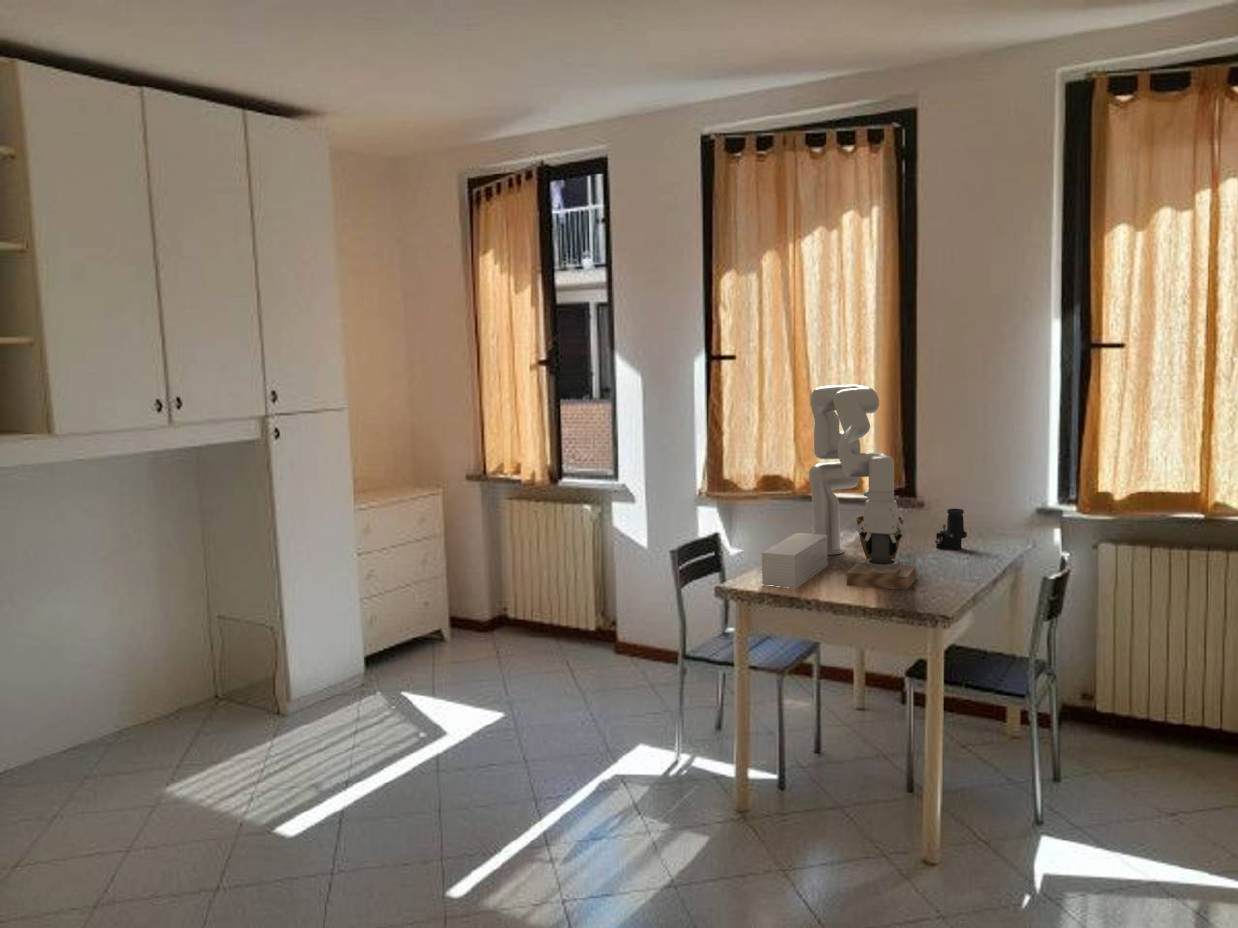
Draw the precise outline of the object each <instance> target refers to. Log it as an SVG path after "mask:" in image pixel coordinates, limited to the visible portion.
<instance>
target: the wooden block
mask: <svg viewBox="0 0 1238 928" xmlns="http://www.w3.org/2000/svg"><path fill="white" fill-rule="evenodd" d="M900 562H901V561H900V560H897V559H896V558H895V559H892V564H885V565H883V564H873V563H871V558H870V559H866V558H865V560H864V561H863V562H859V561H858V562H856V563H855V564H854V565H853V566H852V567H851V568H849V570H847V572H846V586H850V587H851V586H853V587H865V588H866V587H867V588H877V589H878V588H879V589H889V590H902V591H908V590H909V589H910V587H911V586H912V585H913V583H914V582H915V581H916V577H917V566H915V565H902V564H901V563H900ZM900 564H901V565H900Z"/></svg>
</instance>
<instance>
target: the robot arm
mask: <svg viewBox="0 0 1238 928" xmlns="http://www.w3.org/2000/svg"><path fill="white" fill-rule="evenodd" d="M879 404H880V400H879V396H878V394H877V392H876V391H875V390H874V389H873V388H871V387H868V386H865V385H860V384H845V385H844V384H842V385H839V384H838V385H837V384H836V385H824V386H819V387H816V388H814V389H813V390H812V392H811V396H810V408H811V411H812V414H813V420H814V421H813V422H814V426H813V427H814V428H813V429H814V431H813V434H814V435H813V451H814V455H815V457H816V458H818V459H819V460H839V461H837V462H835V461H834V462H832V461H830V462H821V463H816V464H814V465H812V466H811V467H810V468H809V471H808V479H809V486H810V491H811V493H810V494H811V504H812V505H811V509H812V510H811V512H812V513H811V515H812V516H811V518H812V519H811V520H812V522H811V523H812V527H811V528H812V529H811V530H812V533H811V534H821V535H827V556H835V555H840V554H843V553H845V551H846V550H845V547H844V546H841V515H840V514H841V512H840V511H841V510H840V509H841V508H840V501H839V499H838V497H837V495H835V493H834V492H833V491H834V490H835V491H836V490H843V489H844V490H845V489H853V488H855V487H857V486H858V484H859V481H860V478H868V490H867V491H864V492H863V496H864V497H866V498H867V500H865V503H864V509H863V510H864V511H863V516H864V520H863V522H862V523H860V524H859V525H857V526H856V527H855V531H856V532H857V533H858V534H859V533H860V535H861V536H862V537H863V538H864V539H865V541H866V551H868V554H871V535H872V534H889V535H890V537H891V540H892V542H891V544H890V555H891V556H893V555H894V554H895V553H896V552H897V553H898V551H897V541H898V540H899V539H900V540H901V539H902V537H904V536H905V535H906V534H907V533H908V529H907V528H906V527H905V525H904V524H903V525H902V524H901V523H900V522H899V517H898V516H899V509H898V508H899V507H898V503H897V500H895V461H894V460H895V459H894V458H893V457H892V456H889V455H886V454H885V453H884V452H881V451H880V452H877V451H876V452H861V442H860V441H861V440H860V439H861V438H862V437H865V435H867V434H868V433H869V431H870V429H871V424H870V421H869V419H868V418H869V417H868V415H867V414H874V413H876V412H877V410H878V409H879V406H880V405H879ZM840 425H841V427H842V430H843V431H840ZM862 527H863V529H862ZM899 529H900V530H901V533H899V534H898V535H896V532H897V531H898V530H899ZM863 530H864V531H863Z"/></svg>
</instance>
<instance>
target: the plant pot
mask: <svg viewBox="0 0 1238 928" xmlns="http://www.w3.org/2000/svg"><path fill="white" fill-rule="evenodd" d="M898 517H899V522H900V523H901V524H902V525H903V526H904V517H903V516H900V515H898ZM863 520H864V515H861V516H858V517H856V523H857V526H858V525H859V524H860V523H862V522H863ZM862 529H863V527H862ZM863 531H864V530H863ZM899 533H901V530H900V529H899V530H898V531H897V532H896V535H898V534H899ZM858 534H859V539H860V543H861V546H862V547H861V548H862V549H863V552H864V556H865V560H866V559H870V558H871V554H868V551H866V541H865V539H864V538H863V537H862V536H861V535H860V533H859V532H858ZM900 541H901V538H900V539H899V540H898V541H897V552H896V553H895V554H894V555H893V556H892V559H895V560H896V557H897V554H898V550H899V546H900Z"/></svg>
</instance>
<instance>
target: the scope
mask: <svg viewBox="0 0 1238 928" xmlns="http://www.w3.org/2000/svg"><path fill="white" fill-rule="evenodd" d="M946 512H947V520H946V521H947V523H946V524H945V523H943V524H942V530H939V532H936V533H935V534H936V535H935V536H936V537H935V538H936V539H935V540H934V543H935V544H936V549H944V550H951V551H959V550H962V539H966V538H967V537H968V535H967V534H968V533H967V531H965V527H964V525H965V524H964V514H965V512H964V509H962V508H948V509H947V510H946Z"/></svg>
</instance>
